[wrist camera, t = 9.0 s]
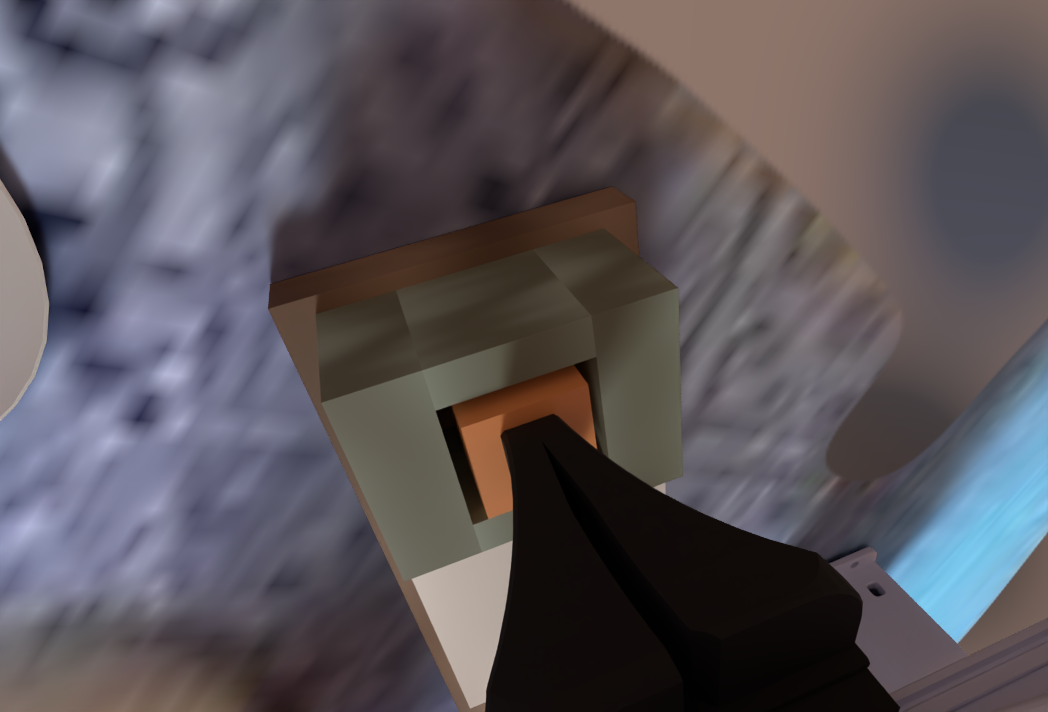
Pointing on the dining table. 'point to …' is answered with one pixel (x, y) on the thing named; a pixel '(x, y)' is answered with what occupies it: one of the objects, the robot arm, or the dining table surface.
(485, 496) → the button
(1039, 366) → the dining table surface
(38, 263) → the checkered hat
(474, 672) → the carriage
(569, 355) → the wooden base with block
